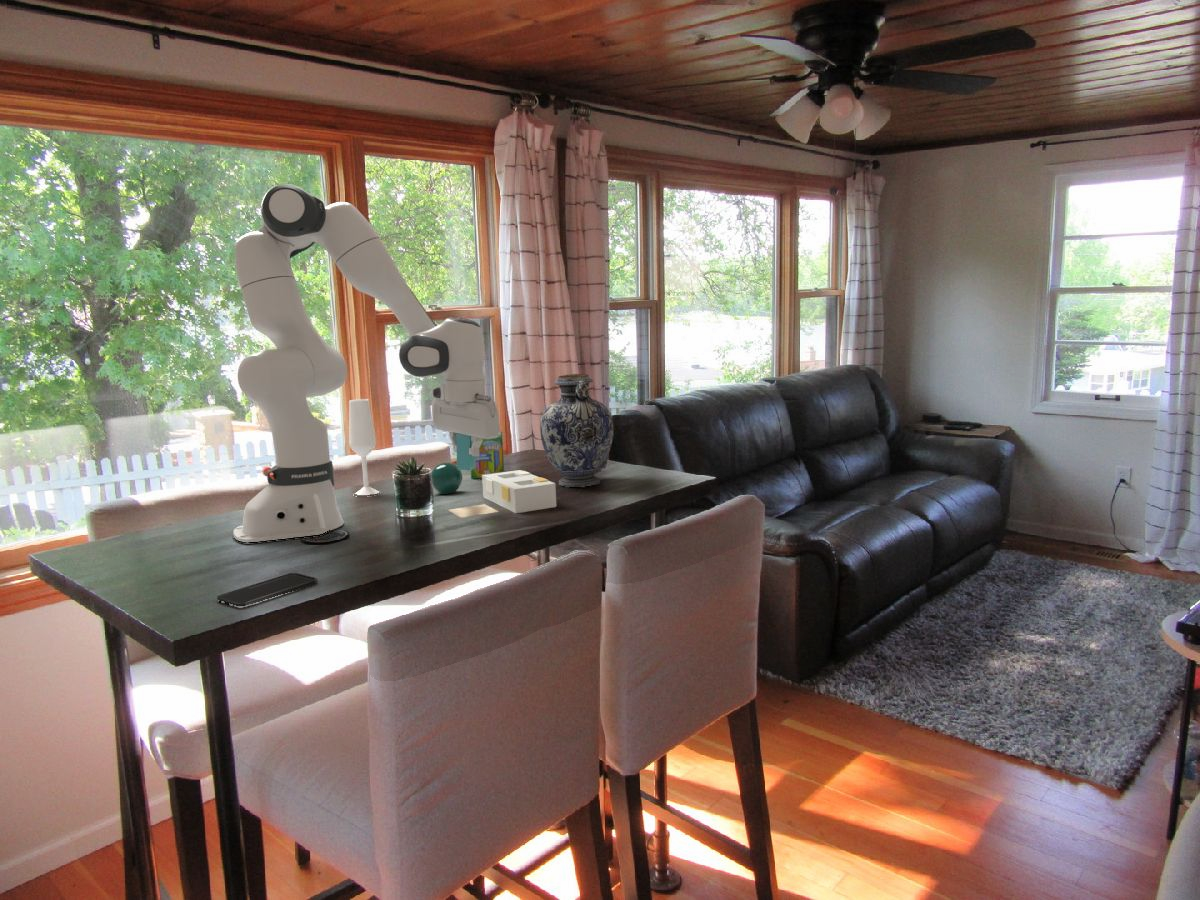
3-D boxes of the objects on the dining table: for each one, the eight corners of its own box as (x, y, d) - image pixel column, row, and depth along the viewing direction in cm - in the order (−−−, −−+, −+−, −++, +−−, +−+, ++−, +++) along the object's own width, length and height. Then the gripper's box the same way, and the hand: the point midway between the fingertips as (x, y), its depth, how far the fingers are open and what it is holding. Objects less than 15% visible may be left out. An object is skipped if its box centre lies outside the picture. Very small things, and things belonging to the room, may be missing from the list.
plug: (457, 469, 194) (456, 431, 192) (462, 466, 197) (462, 429, 195) (470, 470, 193) (469, 432, 191) (476, 467, 196) (475, 429, 194)
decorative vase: (625, 487, 217) (620, 375, 212) (552, 495, 212) (545, 381, 208) (604, 472, 237) (598, 370, 232) (537, 479, 233) (530, 375, 228)
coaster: (461, 520, 191) (461, 517, 191) (447, 512, 199) (447, 509, 199) (499, 514, 195) (499, 511, 195) (484, 506, 203) (484, 504, 203)
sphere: (425, 493, 220) (423, 462, 218) (454, 488, 224) (452, 458, 223) (440, 498, 213) (437, 466, 212) (469, 493, 218) (467, 462, 217)
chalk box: (471, 473, 245) (468, 420, 242) (504, 471, 246) (501, 419, 243) (470, 479, 236) (466, 425, 233) (504, 477, 236) (501, 423, 234)
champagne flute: (376, 496, 219) (368, 401, 215) (349, 497, 219) (341, 402, 215) (383, 490, 225) (376, 398, 221) (357, 491, 226) (349, 399, 221)
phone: (320, 579, 151) (240, 604, 139) (320, 585, 151) (241, 611, 139) (292, 572, 155) (213, 596, 143) (293, 578, 155) (214, 602, 144)
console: (514, 515, 193) (513, 488, 192) (482, 499, 210) (480, 474, 209) (556, 509, 198) (555, 482, 197) (521, 493, 215) (520, 468, 214)
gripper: (506, 395, 187) (507, 458, 189) (449, 387, 201) (450, 446, 203) (482, 397, 182) (484, 462, 185) (426, 389, 196) (428, 449, 199)
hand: (466, 453), depth 194 cm, fingers closed on plug, 4 cm apart
